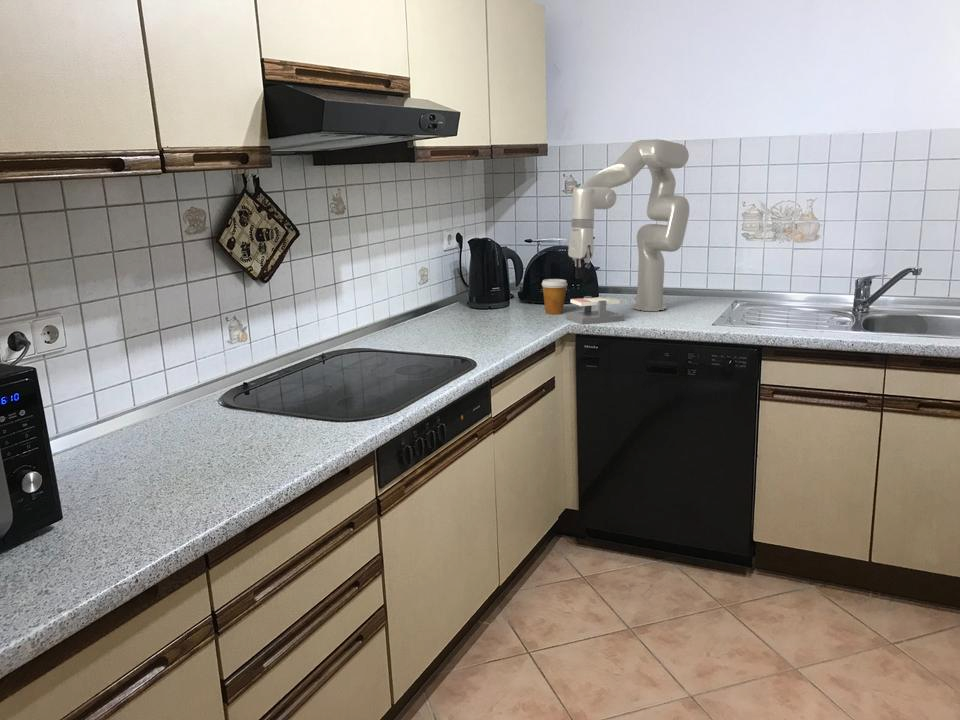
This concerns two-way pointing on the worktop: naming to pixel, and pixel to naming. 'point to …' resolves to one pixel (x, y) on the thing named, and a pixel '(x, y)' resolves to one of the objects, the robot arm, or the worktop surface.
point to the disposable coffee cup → (554, 295)
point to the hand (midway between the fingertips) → (580, 278)
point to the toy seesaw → (594, 314)
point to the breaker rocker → (594, 301)
